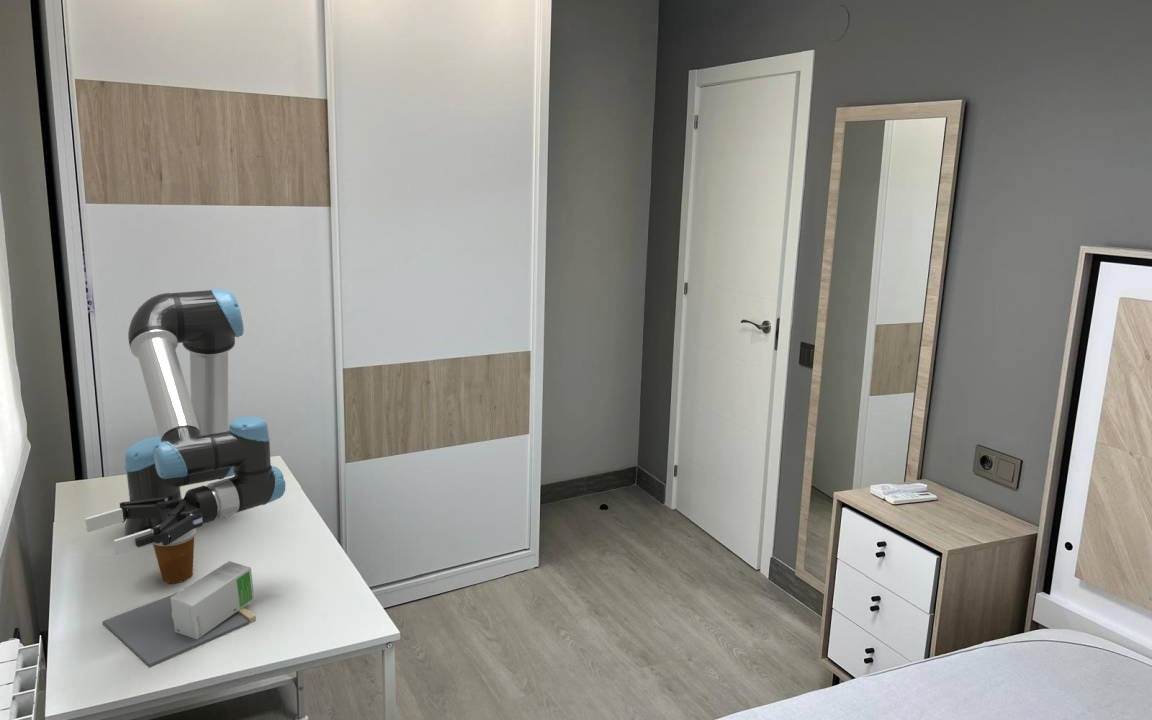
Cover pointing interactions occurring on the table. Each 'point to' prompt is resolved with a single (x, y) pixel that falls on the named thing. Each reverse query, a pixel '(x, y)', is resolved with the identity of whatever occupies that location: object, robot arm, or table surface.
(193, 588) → the skincare box
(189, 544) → the disposable coffee cup
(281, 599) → the table surface
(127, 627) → the rubber mat
